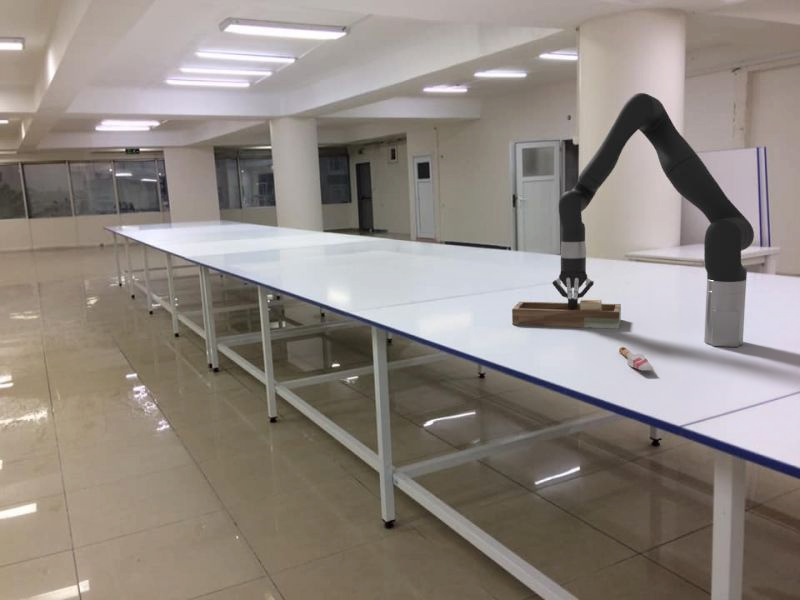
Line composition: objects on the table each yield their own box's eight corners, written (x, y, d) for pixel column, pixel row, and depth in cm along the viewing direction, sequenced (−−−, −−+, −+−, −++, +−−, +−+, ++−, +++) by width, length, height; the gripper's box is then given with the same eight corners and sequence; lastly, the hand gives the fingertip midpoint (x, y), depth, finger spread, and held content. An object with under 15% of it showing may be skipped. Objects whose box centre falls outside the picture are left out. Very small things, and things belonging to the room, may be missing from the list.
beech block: (600, 315, 194) (600, 302, 193) (580, 314, 196) (580, 302, 195) (601, 312, 198) (601, 299, 197) (581, 311, 200) (581, 299, 200)
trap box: (618, 328, 189) (619, 312, 188) (512, 324, 201) (512, 309, 200) (620, 319, 200) (620, 304, 199) (519, 316, 212) (519, 301, 211)
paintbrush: (639, 364, 145) (615, 345, 165) (639, 375, 145) (615, 355, 165) (656, 363, 145) (630, 344, 164) (656, 375, 145) (630, 354, 165)
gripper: (549, 257, 194) (549, 312, 198) (594, 257, 189) (593, 313, 193) (553, 254, 201) (553, 307, 204) (596, 254, 196) (595, 308, 200)
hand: (572, 310), depth 199 cm, fingers closed
